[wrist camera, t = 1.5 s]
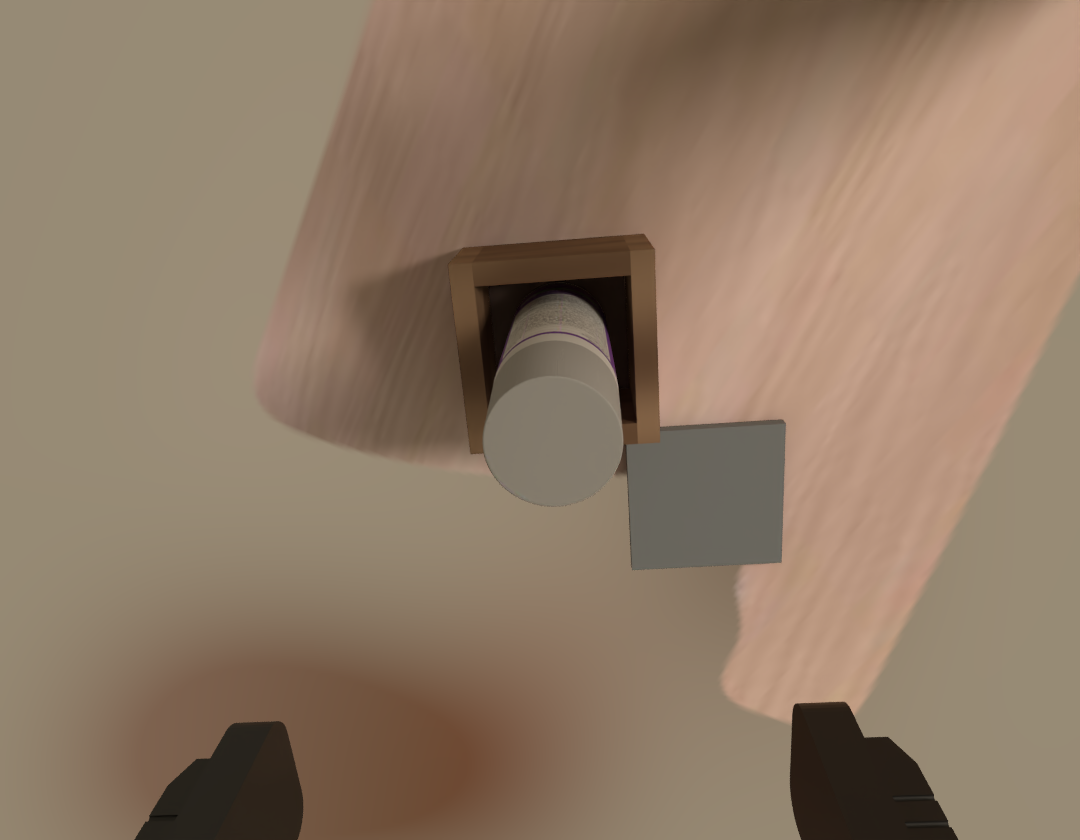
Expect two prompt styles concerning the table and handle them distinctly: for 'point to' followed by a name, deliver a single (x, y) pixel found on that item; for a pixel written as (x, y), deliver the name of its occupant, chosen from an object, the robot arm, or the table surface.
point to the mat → (707, 495)
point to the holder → (553, 264)
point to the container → (555, 400)
